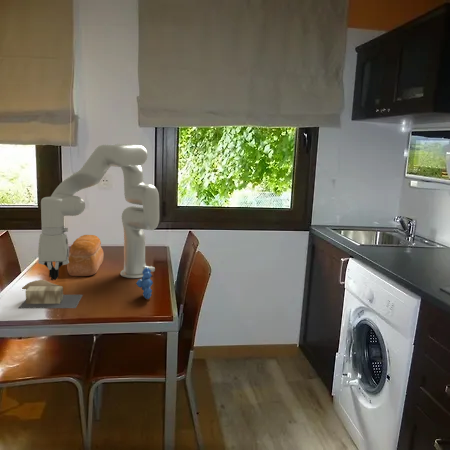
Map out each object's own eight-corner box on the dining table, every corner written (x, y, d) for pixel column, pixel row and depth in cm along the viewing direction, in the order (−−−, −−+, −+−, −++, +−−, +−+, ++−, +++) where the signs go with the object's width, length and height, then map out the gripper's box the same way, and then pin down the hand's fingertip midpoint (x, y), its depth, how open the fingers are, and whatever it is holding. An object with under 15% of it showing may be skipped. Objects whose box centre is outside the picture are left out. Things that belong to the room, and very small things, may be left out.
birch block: (62, 286, 167) (29, 286, 165) (59, 290, 162) (25, 290, 160) (63, 298, 168) (30, 298, 166) (60, 303, 163) (26, 303, 161)
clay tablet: (49, 282, 188) (48, 276, 187) (64, 287, 183) (64, 281, 182) (17, 291, 176) (17, 285, 175) (33, 297, 171) (33, 290, 170)
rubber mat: (83, 295, 173) (83, 294, 173) (75, 309, 159) (75, 308, 159) (29, 295, 170) (29, 294, 170) (17, 309, 156) (17, 308, 156)
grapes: (135, 292, 179) (135, 264, 177) (151, 291, 181) (152, 263, 178) (136, 303, 168) (136, 272, 166) (154, 302, 170) (154, 272, 167)
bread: (105, 261, 222) (104, 232, 219) (96, 277, 196) (95, 244, 193) (77, 261, 220) (77, 231, 217) (64, 277, 195) (64, 243, 192)
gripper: (76, 229, 164) (77, 276, 168) (34, 228, 162) (36, 275, 166) (72, 233, 157) (73, 282, 160) (28, 232, 155) (30, 282, 158)
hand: (54, 278), depth 163 cm, fingers closed
